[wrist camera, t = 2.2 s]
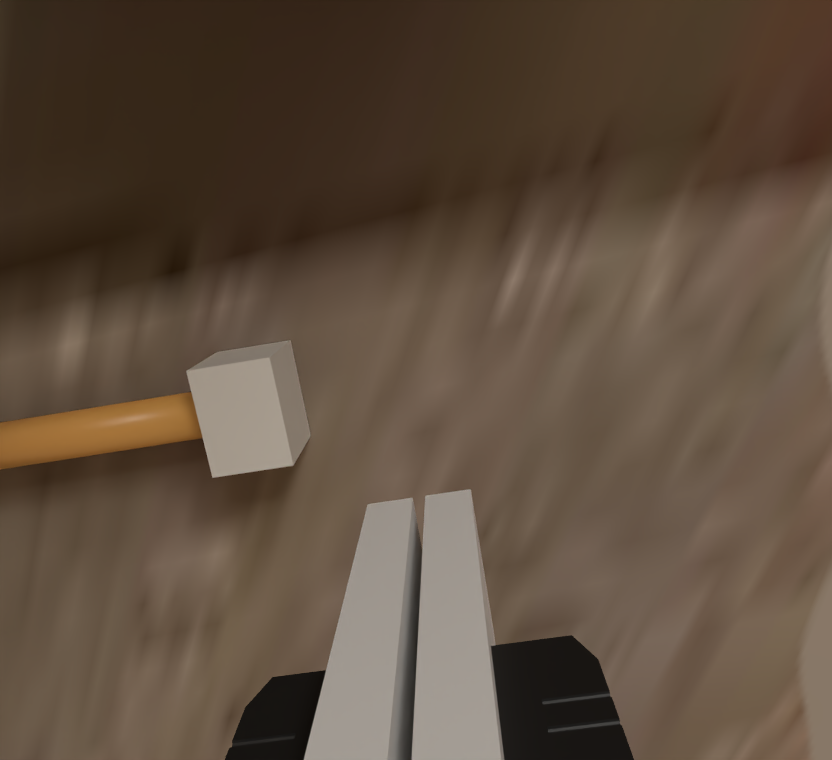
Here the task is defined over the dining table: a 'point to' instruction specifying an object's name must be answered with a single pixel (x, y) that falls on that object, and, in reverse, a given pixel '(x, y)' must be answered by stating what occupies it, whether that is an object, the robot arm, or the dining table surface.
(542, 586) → the dining table surface
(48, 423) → the white and wooden mallet
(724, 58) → the dining table surface
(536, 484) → the dining table surface
